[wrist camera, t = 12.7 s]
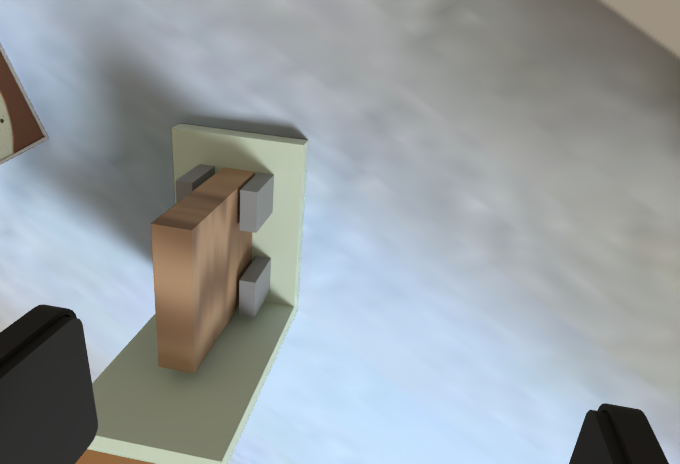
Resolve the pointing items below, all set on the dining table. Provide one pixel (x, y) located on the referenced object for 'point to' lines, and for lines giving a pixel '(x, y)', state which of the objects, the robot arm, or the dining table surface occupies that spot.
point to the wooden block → (199, 268)
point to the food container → (16, 115)
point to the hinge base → (240, 332)
